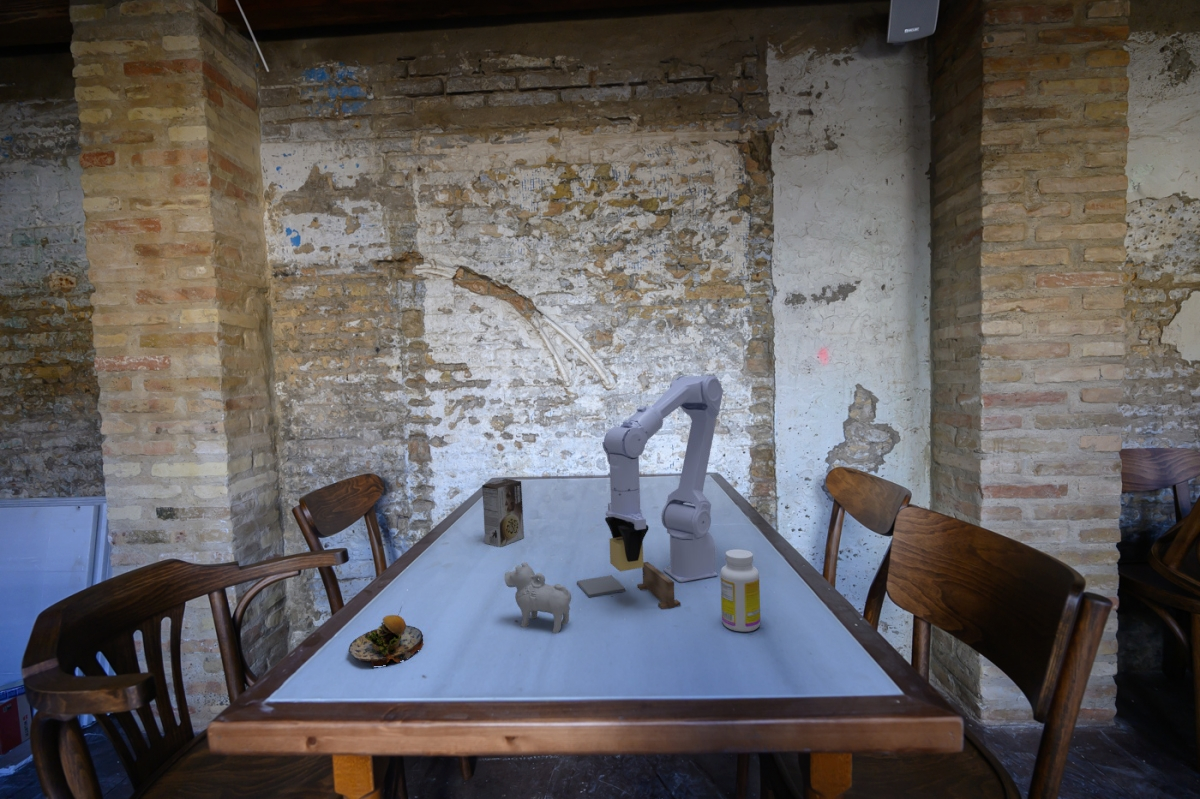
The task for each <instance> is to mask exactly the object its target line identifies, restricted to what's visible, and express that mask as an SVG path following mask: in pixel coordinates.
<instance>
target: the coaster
mask: <svg viewBox="0 0 1200 799" xmlns="http://www.w3.org/2000/svg"><path fill="white" fill-rule="evenodd" d="M576 585H577V586H578V587H579V588H580V589H581V590H582V592H583V593H584V594H585V595H586V596H587V597H588V598H590V599H591V598H595V597H600V596H606V595H607V596H608V595H612V594H617V593H623V592H627V591H626V587H625V586H624V585H622V583H621V582H619V580H618V579H616V578H615V576H613V575H612V574H611V575H605V576H598V577H593V578H587V579H581V580H576Z"/></svg>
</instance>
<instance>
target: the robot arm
mask: <svg viewBox="0 0 1200 799" xmlns="http://www.w3.org/2000/svg"><path fill="white" fill-rule="evenodd" d="M669 385H670V386H669V388H668V389H667V390H666V391H665V392H664V393H663V394H662V395H661V396H660V398H659V399H658V400H656V401H655V402H654V403H653V404H652V406H651V405H644V406H642V405H640V406H639V407H638V408H636V412H635V413H633V415H631V416H630V417H629V418H628V419H625V420H623V422H622V424H621V425H620V426H613V427H612V428H610V429H609V430H608V431H607V432H606V433H605V435H604V437H603V438H604V439H603V441H602V442H601V443H602V449H603V451H604V453H605V454H606V458H607V460H606V461H607V463H608V465H609V477H610V478H609V481H610V482H609V484H610V502H608V503H607V510H606V511H605V516H606V517H605V518H604V520H605V522H606V525H607V527H608V528H609V531H610V534H611V537H612V538H617V537H622V538H623V541H624V546H625V553H626V558H627V561H628V562H632V561H638V559H639V555H640V550H641V546H642V542H643V543H644V540H645V539H644V538H645V537H646V535H647V533H648V531H649V528H650V527H649V525H648V524H647V518H645V516H644V515H643V511H642V509H641V491H640V456H642V454H644V451H645V446H646V444H648V441H649V440H650V439H651V438H652V437H653V436H654V435H655V434H656V433H658V431H660V430H661V429H662V427H663V425H664V419H665V418H666V417H668V416H669V415H670V414H671V413H673V412H674V411H675V410H676V409H678V408H681V410H682V411H683V412H684V413H685V414H686V415H688V416H689V417H690V420H691V423H690V429H689V434H688V439H687V444H686V450H685V455H684V459H683V465H682V467H681V474H680V479H679V484H678V488H676V489H675V490H674V491H672V492H671V493H669V494H668V496H667V500H666V503H665V505H664V507H663V508H662V511H661V518H660V519H661V523H662V526H663V527H664V528H665V529H666V533H667V534H668V535H669V552H670V554H669V556H670V558H669V559H670V567H669V566H668V567H664V568H663V571H664V572H665V573H666V574H668V575H669V576H670V577H672V578H673V579H674V580H676V581H677V582H679V583H684V582H690V581H695V580H701V579H707V578H711V577H717V576H718V575H719V574H718V572H717V570H716V569H717V566H716V565H717V564H716V543H715V540H714V537H713V535H712V534H711V533H710V532H709V530H710V528H711V524H712V518H711V508H712V503H711V502H710V501H709V500H708V498H707V497H706V496H705V495H704V492H703V491H704V486H705V480H706V476H707V471H708V465H709V459H710V455H711V449H712V444H713V439H714V435H715V434H714V433H715V429H716V424H717V419H718V416H719V414H720V410H721V404H722V398H723V394H724V390H723V388H722V385H721V383H720V380H719V379H718V378H717V377H716V376H715V375H707V376H703V375H702V376H684V375H680V376H677V377H675V378H674V380H672V381H670V384H669ZM689 504H691V505H689Z"/></svg>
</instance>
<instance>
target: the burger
mask: <svg viewBox="0 0 1200 799" xmlns="http://www.w3.org/2000/svg"><path fill="white" fill-rule="evenodd" d="M402 607H403V606H401V607H400V610H399V613H398V615H397V614H390V615H385V616H384V617H383V618H382V622H381V623H380V624H381V625H380V626H378V627H377V628H375V629H373V630H371V631H367V632H365V633H363V634H362V635H360V636H358V637H357V638H355V639H354V640H353V641H352V642H351V643H350V644H349V647H348V649H347V650H348V653H349V654H350V655H352V656H353V657H354V658H355V659H357V660H359V661H365V662H371V664H372V667H373V668H374V666H383V665H386V664H387V665H388V662H390V660H393V661H394V662H396V663H397V664H398V663H399V662H400V661H402V660H404V661H405V660H407V658H409V659H410V658H411V656H412V655H415V653H416V652H417V651H418V650H420V649H421V647H422V648H423V646H424V643H423V642H424V634H423V633H422V631H421V630H420V629H419V628H417V627H416V626H411V625H407V623H406V621H405V619H404V618H403V617H401V616H400V613H401V610H402ZM421 650H422V649H421ZM421 650H420V651H421ZM400 663H401V662H400ZM400 663H399V664H400Z"/></svg>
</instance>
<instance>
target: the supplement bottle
mask: <svg viewBox="0 0 1200 799" xmlns="http://www.w3.org/2000/svg"><path fill="white" fill-rule="evenodd" d="M725 561H726V564H725V565H724V566H722V567H721V569H720V597H721V598H720V602H721V603H720V605H721V621H722V624H723V625H724V626H725V627H726V629H729V630H731V631H735V632H742V633H745V632H746V633H747V632H753V631H755V630H757V629H758V628H759V627H760V625H761V599H760V597H761V595H760V594H761V592H760V591H761V590H760V572H759V570H758V569H757V567H755V566H754V565H753V562H754V553H752V552H751V551H750V550H746V549H729V550H727V551H725Z"/></svg>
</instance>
